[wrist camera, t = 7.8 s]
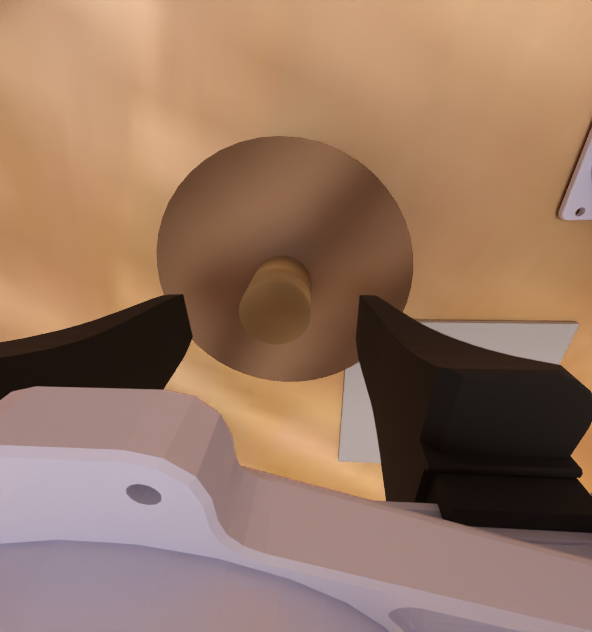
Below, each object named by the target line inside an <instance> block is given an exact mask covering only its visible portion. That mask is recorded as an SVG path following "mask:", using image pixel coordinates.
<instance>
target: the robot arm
mask: <svg viewBox="0 0 592 632" xmlns="http://www.w3.org/2000/svg"><path fill="white" fill-rule="evenodd" d="M579 208H580V211H579V213H578V214H576V215H575V213H576V211H577V209H579ZM558 216H559V218H560V219H563V220H592V128H591V130H590V133H589V135H588V138H587V140H586V143H585V145H584V148H583V151H582V153H581V156H580V158H579V161H578V163H577V166H576V169H575V171H574V174H573V176H572V179H571V181H570V184H569V186H568V189H567V192H566V194H565V197H564V199H563V202H562V204H561V207H560V209H559V213H558ZM192 337H193V335H192V331H191V326H190V322H189V317H188V313H187V309H186V304H185V300H184V295H183V294H168V295H163V296H160V297H156V298H153V299H151V300H148V301H145V302H143V303H140V304H137V305H135V306H132V307H130V308H127V309H124V310H122V311H119V312H116V313H113V314H111V315H108V316H105V317H102V318H100V319H97V320H94V321H91V322H87V323H84V324H81V325H77V326H74V327H70V328H67V329H63V330H59V331H55V332H50V333H46V334H41V335H37V336H32V337H28V338H23V339H17V340H12V341H6V342H0V632H592V493H590V494H589V493H588V491H587V490H586V489H585V488H584V486H583V485H582V484H581V483H580V482H579V480H578V479H577V478H580V477H581V476H582V474H583V473H582V469H581V468H580V467H579V465H578V464H577V463H576V462H575V461H574V460H573V459H572V457H571V454H572V453H573V451H574V449H575V448H576V446H577V445H578V443H579V442H580V440H581V439H582V437H583V436H584V434H585V433H586V431H587V430H588V428H589V426H590V424H591V422H592V393H591V391H590V390H589V389H587V388H586V387H585V386H584V385H583V384H582V383H581V382H579V381H578V380H577V379H576V378H575V377H574V376H573V375H571V374H570V373H569V372H568V371H567V370H566V369H564V368H563V367H562V366H561V365H558V364H553V363H548V362H542V361H537V360H532V359H527V358H522V357H516V356H512V355H508V354H504V353H500V352H496V351H492V350H489V349H485V348H482V347H478V346H475V345H472V344H469V343H466V342H463V341H460V340H457V339H455V338H452V337H450V336H447V335H445V334H442V333H440V332H438V331H436V330H433V329H431V328H429V327H427V326H425V325H423V324H421V323H420V322H418V321H416V320H414V319H412V318H411V317H409V316H407V315H406V314H404V313H402V312H401V311H399V310H398V309H396V308H395V307H393V306H392V305H390V304H389V303H387V302H386V301H384V300H383V299H381V298H380V297H378V296H376V295H360V296H359V307H358V318H357V329H356V346H357V353H358V360H359V363H360V367H361V370H362V374H363V377H364V381H365V384H366V388H367V391H368V395H369V398H370V402H371V406H372V410H373V415H374V421H375V427H376V433H377V439H378V446H379V452H380V459H381V466H382V473H383V481H384V488H385V495H386V501H372V500H368V499H365V498H361V497H357V496H353V495H350V494H346V493H342V492H338V491H335V490H331V489H327V488H323V487H320V486H316V485H312V484H308V483H305V482H301V481H297V480H293V479H290V478H286V477H282V476H278V475H275V474H271V473H267V472H263V471H260V470H256V469H252V468H248V467H245V466H241V465H240V464H239V462H238V460H237V457H236V454H235V448H234V443H233V438H232V434H231V432H230V430H229V428H228V427H227V425H226V423H225V421H224V419H223V418H222V416H221V414H220V413H219V412H218V411H217V410H215V409H214V408H212V407H211V406H209V405H208V404H206V403H205V402H203V401H202V400H200V399H199V398H197V397H196V396H192V395H187V394H183V393H178V392H174V391H169V390H163V389H164V388H165V386H166V384H167V383H168V381H169V380H170V378H171V377H172V375H173V374H174V372H175V370H176V369H177V367H178V366H179V364H180V362H181V361H182V359H183V358H184V356H185V354H186V352H187V350H188V347H189V345H190V342H191V340H192Z"/></svg>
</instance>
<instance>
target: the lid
mask: <svg viewBox="0 0 592 632" xmlns="http://www.w3.org/2000/svg"><path fill="white" fill-rule="evenodd" d="M157 267H158V273H159V279H160V283H161V286H162V290H163V293H164V295H168V294H183V295H184V300H185V304H186V309H187V313H188V317H189V322H190V326H191V331H192V335H193V337H192V340H193V341H194V342H195V343H196V344H197V345H198V346H199V347H200V348H202V349H203V350H204V351H205V352H206V353H207V354H209V355H210V356H212V357H213V358H215V359H216V360H218V361H219V362H221V363H223V364H225V365H226V366H228V367H230V368H232V369H234V370H237V371H239V372H242V373H244V374H247V375H250V376H254V377H257V378H262V379H267V380H273V381H284V382H290V381H307V380H314V379H318V378H323V377H327V376H330V375H333V374H336V373H338V372H341V371H343V370H345V369H347V368H349V367H351V366H353V365H355V364H356V363H358V362H359V360H358V353H357V346H356V329H357V318H358V307H359V296H360V295H376V296H378V297H380V298H381V299H383V300H384V301H386V302H387V303H389V304H390V305H392V306H393V307H395V308H396V309H398V310H399V311H401V312H403V310H404V307H405V305H406V303H407V299H408V296H409V292H410V289H411V283H412V275H413V252H412V246H411V239H410V235H409V232H408V229H407V225H406V222H405V219H404V217H403V215H402V213H401V211H400V209H399V207H398V205H397V203H396V201H395V200H394V198H393V197H392V195H391V194H390V193H389V191H388V190H387V188H386V187H385V186H384V185H383V184H382V183H381V181H380V180H379V179H378V178H377V177H376V176H375V175H374V174H373V173H372V172H371V171H370V170H368V169H367V168H366V167H365V166H363V165H362V164H361V163H360V162H359V161H357V160H356V159H354V158H352V157H350V156H349V155H347V154H345V153H344V152H342V151H340V150H338V149H336V148H333V147H331V146H328V145H325V144H323V143H320V142H316V141H312V140H308V139H303V138H297V137H284V136H275V137H263V138H256V139H252V140H248V141H244V142H239V143H237V144H234V145H232V146H230V147H227V148H225V149H222V150H220V151H219V152H217V153H215V154H214V155H212V156H211V157H209V158H207V159H206V160H204V161H203V162H202V163H201V164H200V165H198V166H197V167H196V168H195V169H194V170H193V171H191V172H190V173H189V175H188V176H187V177H186V178H185V179H184V180H183V182H182V183H181V184H180V185H179V186H178V188H177V190H176V191H175V193H174V194H173V196H172V198H171V199H170V201H169V203H168V206H167V208H166V210H165V213H164V215H163V218H162V222H161V226H160V230H159V234H158V243H157Z"/></svg>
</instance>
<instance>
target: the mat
mask: <svg viewBox="0 0 592 632" xmlns="http://www.w3.org/2000/svg"><path fill="white" fill-rule="evenodd" d="M416 321H418V322H420V323H421V324H423V325H425V326H427V327H429V328H431V329H433V330H436V331H438V332H440V333H442V334H445V335H447V336H450V337H452V338H455V339H457V340H460V341H463V342H466V343H469V344H472V345H475V346H478V347H482V348H485V349H489V350H492V351H496V352H500V353H504V354H508V355H512V356H516V357H522V358H527V359H532V360H537V361H542V362H548V363H553V364H558V365H559V364H560V362H561V360H562V358H563V356H564V354H565V352H566V350H567V348H568V346H569V344H570V342H571V340H572V338H573V336H574V335H575V333H576V331H577V329H578V327H579V325H580V324H579V323H577V322H576V321H473V320H416ZM338 461H341V462H366V463H381V459H380V452H379V446H378V439H377V433H376V427H375V421H374V415H373V410H372V406H371V402H370V398H369V395H368V391H367V388H366V384H365V381H364V377H363V374H362V370H361V367H360V363H359V362H358V363H356V364H355V365H353V366H351V367H349V368H347V369H345V374H344V387H343V401H342V414H341V428H340V441H339V455H338Z"/></svg>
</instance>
